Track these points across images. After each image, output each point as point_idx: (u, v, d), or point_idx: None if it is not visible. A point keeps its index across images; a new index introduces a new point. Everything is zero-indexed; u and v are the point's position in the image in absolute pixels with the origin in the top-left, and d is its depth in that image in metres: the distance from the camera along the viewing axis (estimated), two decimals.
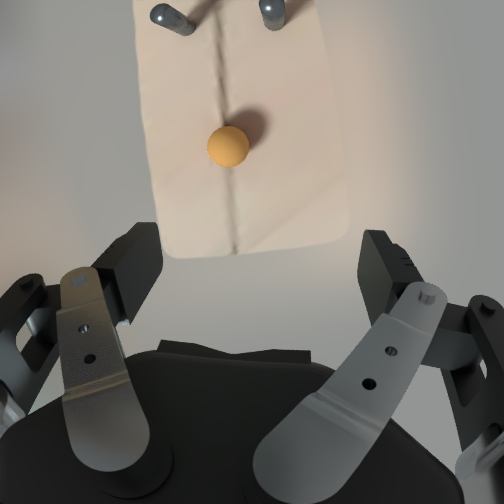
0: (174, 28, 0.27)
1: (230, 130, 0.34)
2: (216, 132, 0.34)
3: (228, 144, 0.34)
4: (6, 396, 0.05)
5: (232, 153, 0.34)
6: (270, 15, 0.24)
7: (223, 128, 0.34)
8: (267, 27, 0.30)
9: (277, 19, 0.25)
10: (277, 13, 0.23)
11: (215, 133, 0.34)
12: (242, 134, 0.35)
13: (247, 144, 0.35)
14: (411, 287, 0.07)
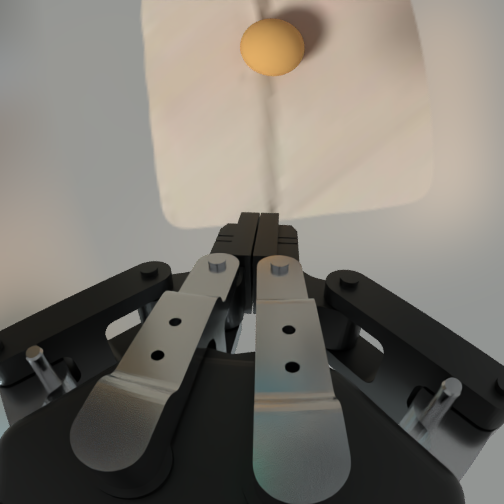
0: None
1: (278, 20, 0.19)
2: (256, 23, 0.19)
3: (277, 34, 0.18)
4: (62, 379, 0.06)
5: (283, 47, 0.19)
6: None
7: (266, 19, 0.19)
8: None
9: None
10: None
11: (254, 24, 0.19)
12: (295, 28, 0.19)
13: (303, 42, 0.20)
14: (261, 265, 0.09)
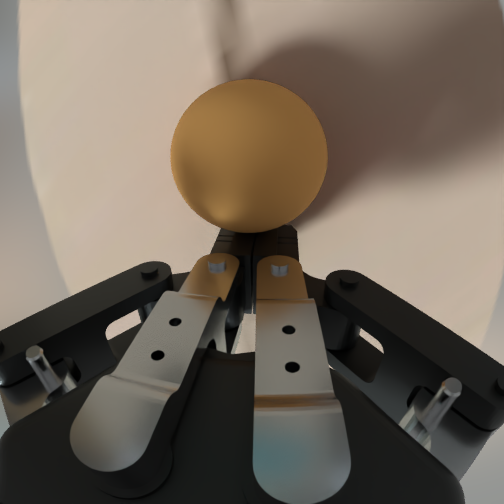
0: None
1: None
2: None
3: None
4: (62, 379, 0.06)
5: None
6: None
7: None
8: None
9: None
10: None
11: None
12: None
13: None
14: (260, 265, 0.09)
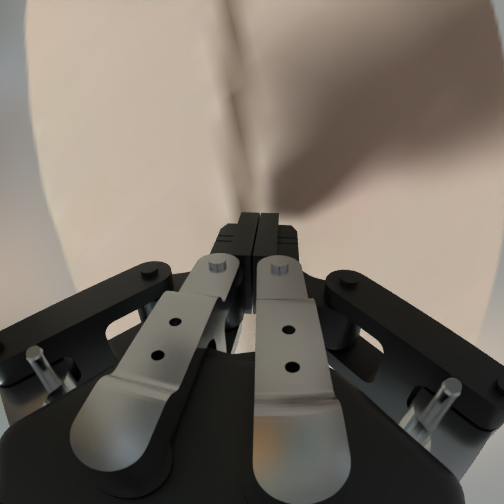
0: None
1: None
2: None
3: None
4: (63, 379, 0.06)
5: None
6: None
7: None
8: None
9: None
10: None
11: None
12: None
13: None
14: (260, 266, 0.09)
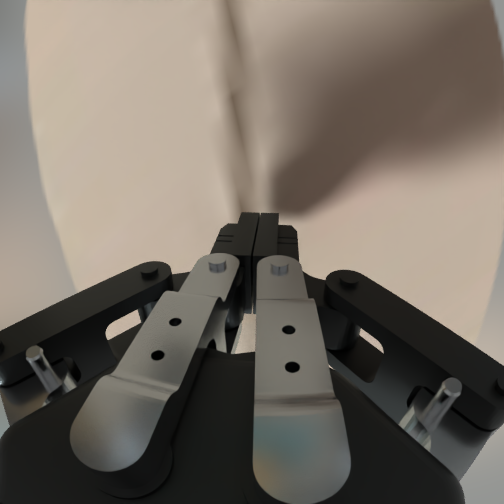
0: None
1: None
2: None
3: None
4: (63, 379, 0.06)
5: None
6: None
7: None
8: None
9: None
10: None
11: None
12: None
13: None
14: (260, 266, 0.09)
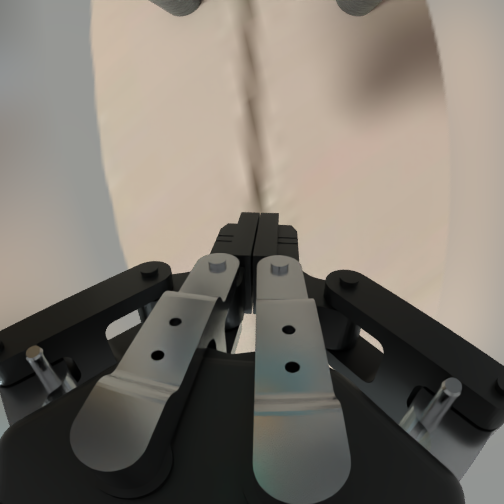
0: None
1: None
2: None
3: None
4: (63, 379, 0.06)
5: None
6: None
7: None
8: (344, 7, 0.14)
9: None
10: None
11: None
12: None
13: None
14: (260, 266, 0.09)
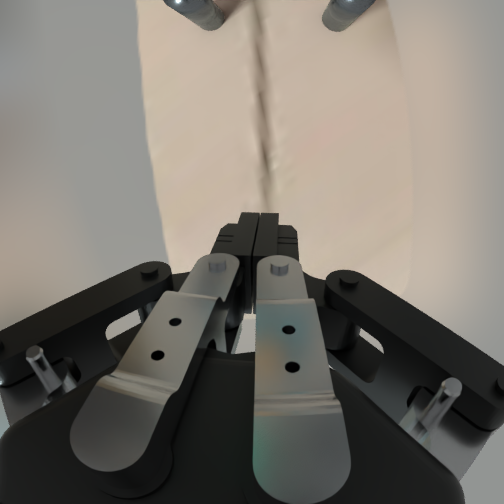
0: (198, 17, 0.18)
1: None
2: None
3: None
4: (62, 379, 0.06)
5: None
6: (354, 9, 0.14)
7: None
8: (327, 26, 0.21)
9: (355, 16, 0.16)
10: (365, 8, 0.14)
11: None
12: None
13: None
14: (260, 265, 0.09)
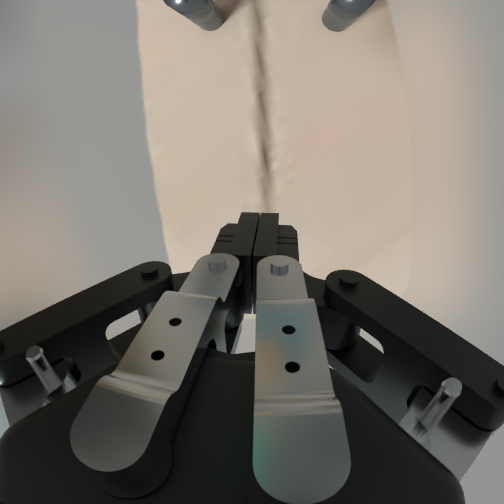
0: (198, 17, 0.18)
1: None
2: None
3: None
4: (62, 379, 0.06)
5: None
6: (354, 9, 0.14)
7: None
8: (327, 26, 0.21)
9: (355, 16, 0.16)
10: (365, 8, 0.14)
11: None
12: None
13: None
14: (260, 265, 0.09)
